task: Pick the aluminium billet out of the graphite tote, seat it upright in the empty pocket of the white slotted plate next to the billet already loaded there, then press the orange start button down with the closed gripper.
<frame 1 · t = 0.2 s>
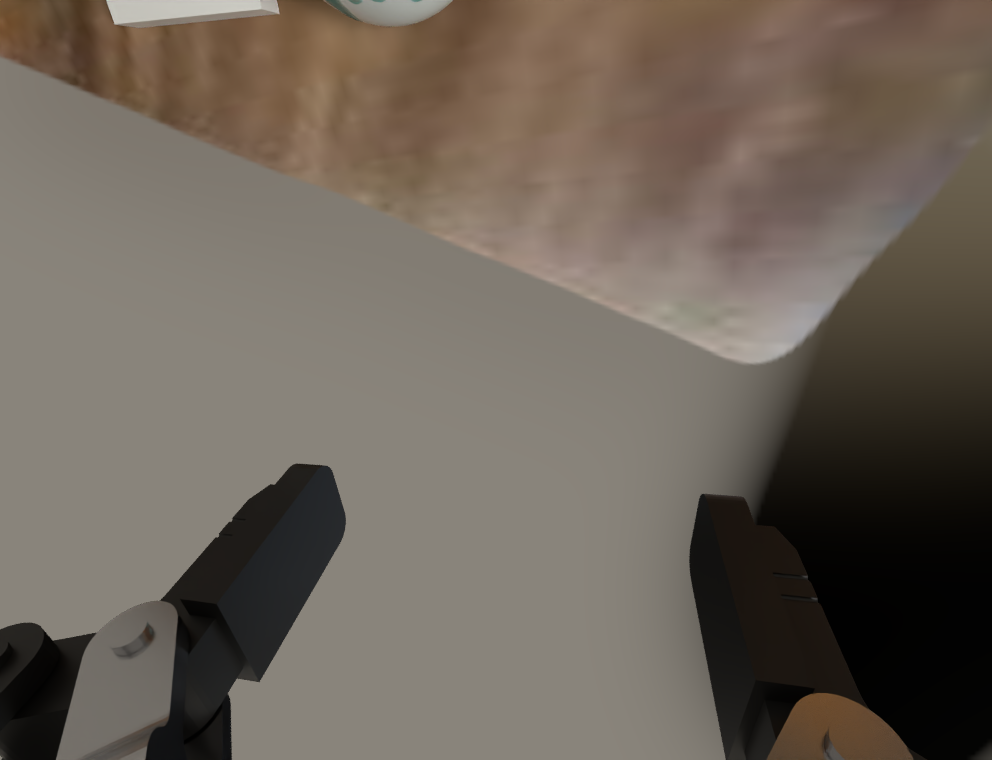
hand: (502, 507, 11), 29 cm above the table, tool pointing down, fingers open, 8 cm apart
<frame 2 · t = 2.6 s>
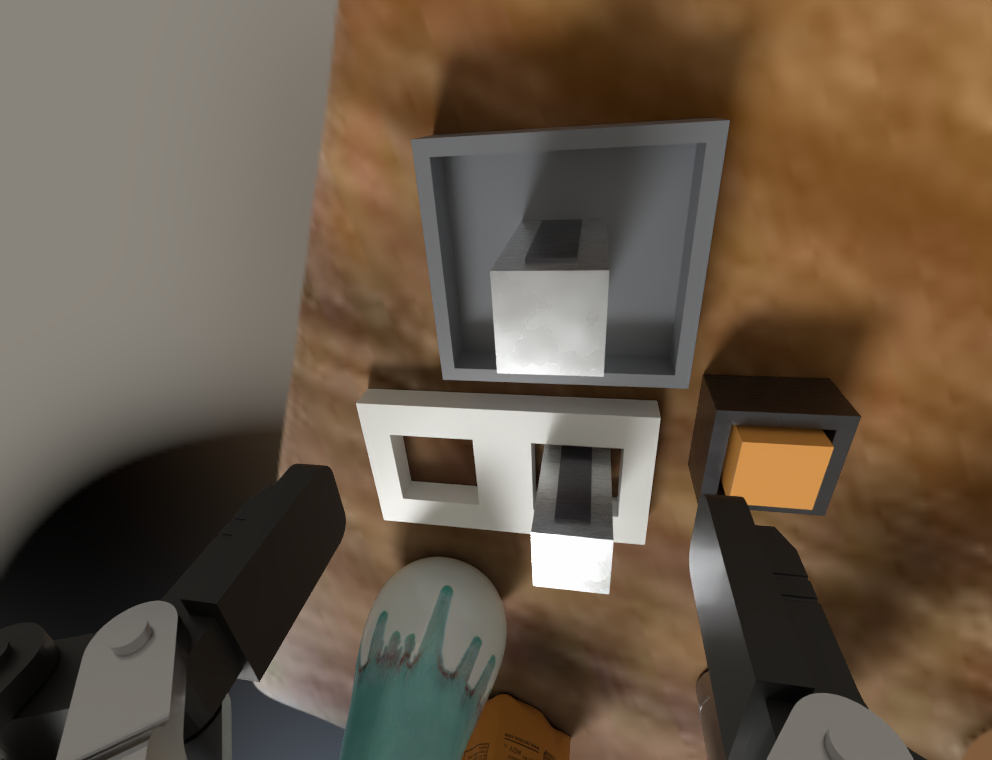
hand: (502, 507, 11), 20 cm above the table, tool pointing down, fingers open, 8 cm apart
start button: (771, 462, 28), point 4 cm above the table, slide at 0.0 cm
coffee package: (516, 721, 55), on the table
billet: (563, 260, 27), point 1 cm above the table, touching tote
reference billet: (576, 462, 35), resting in white slotted plate
white slotted plate: (508, 457, 36), on the table
vase: (452, 581, 44), on the table
button housing: (753, 424, 31), on the table
tote: (564, 254, 28), on the table
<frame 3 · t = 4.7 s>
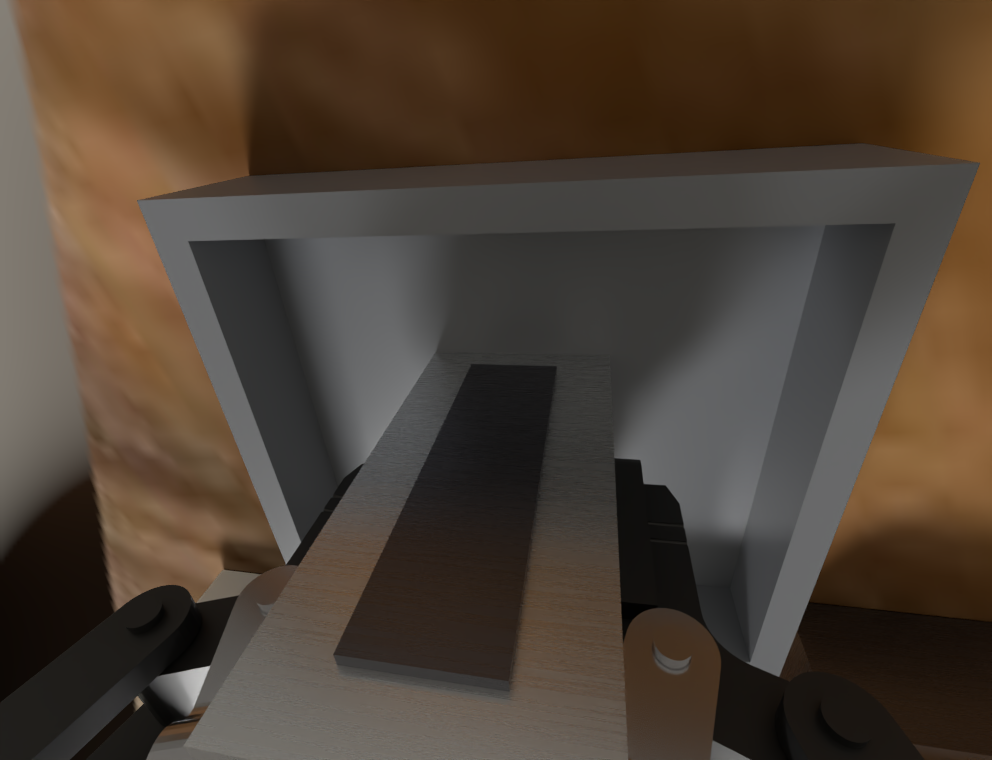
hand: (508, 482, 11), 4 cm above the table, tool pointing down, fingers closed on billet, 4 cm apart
billet: (523, 425, 13), point 1 cm above the table, touching gripper, tote
white slotted plate: (452, 673, 22), on the table
button housing: (870, 674, 17), on the table
tote: (528, 402, 14), on the table
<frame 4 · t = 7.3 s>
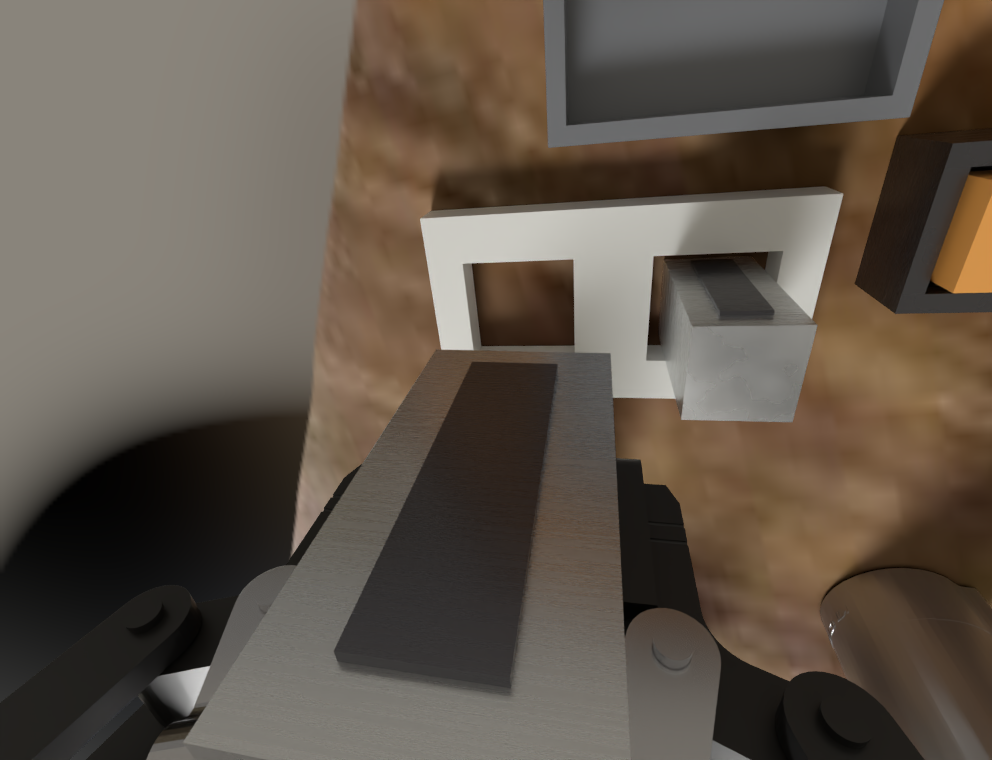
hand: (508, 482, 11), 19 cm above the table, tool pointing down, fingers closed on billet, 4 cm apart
billet: (523, 423, 13), point 17 cm above the table, touching gripper
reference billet: (701, 296, 27), resting in white slotted plate
white slotted plate: (610, 298, 28), on the table
button housing: (958, 211, 23), on the table
when the fingers open (3 cm above the table, at t = 10.2 s): billet stays where it is, resting in white slotted plate.
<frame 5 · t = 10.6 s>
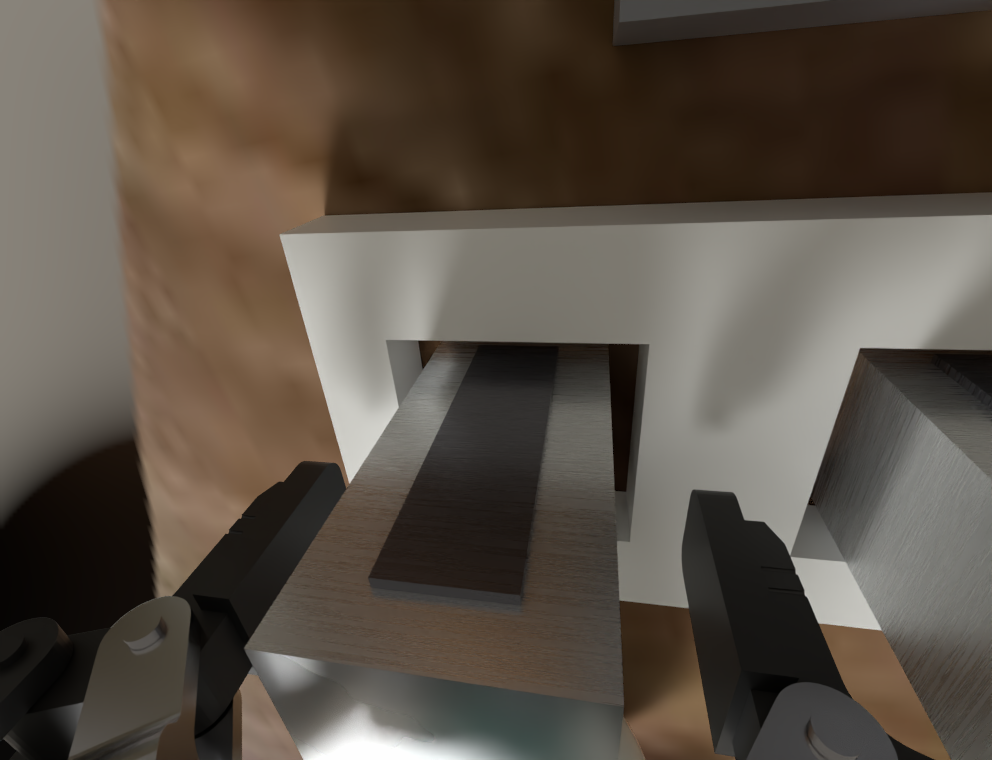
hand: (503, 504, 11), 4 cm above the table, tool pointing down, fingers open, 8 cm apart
billet: (526, 405, 14), resting in white slotted plate
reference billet: (920, 421, 12), resting in white slotted plate
white slotted plate: (709, 413, 13), on the table
vase: (516, 682, 22), on the table
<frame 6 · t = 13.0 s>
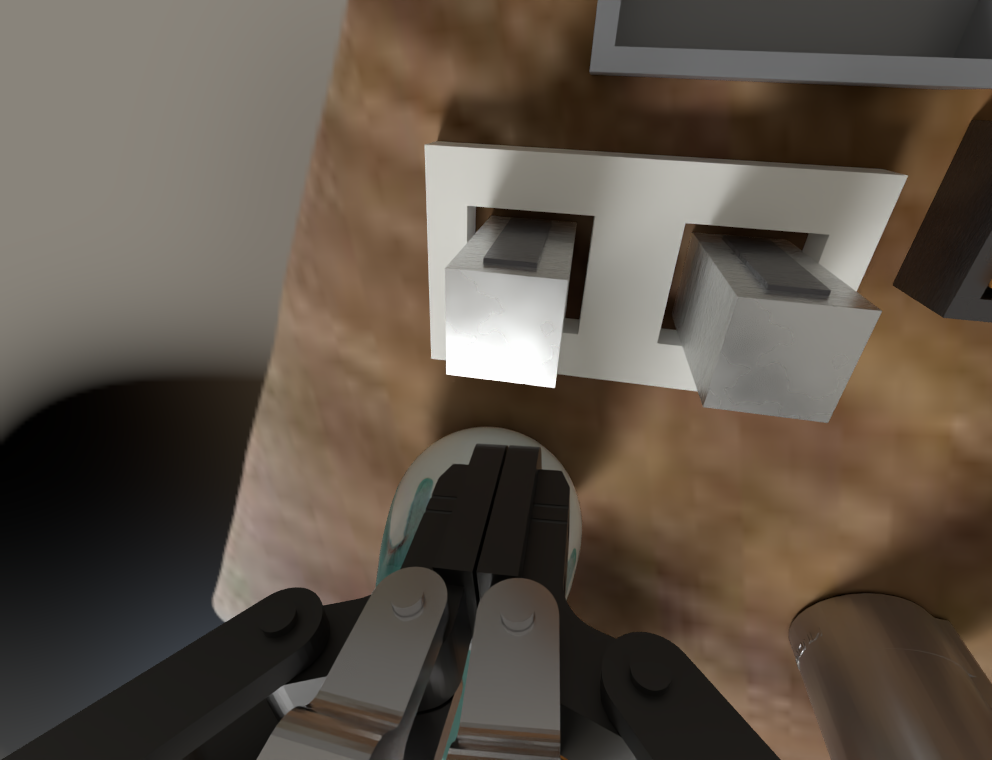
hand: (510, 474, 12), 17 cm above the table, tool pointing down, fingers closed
billet: (530, 261, 26), resting in white slotted plate
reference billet: (726, 279, 25), resting in white slotted plate
white slotted plate: (625, 270, 25), on the table
vase: (499, 470, 34), on the table
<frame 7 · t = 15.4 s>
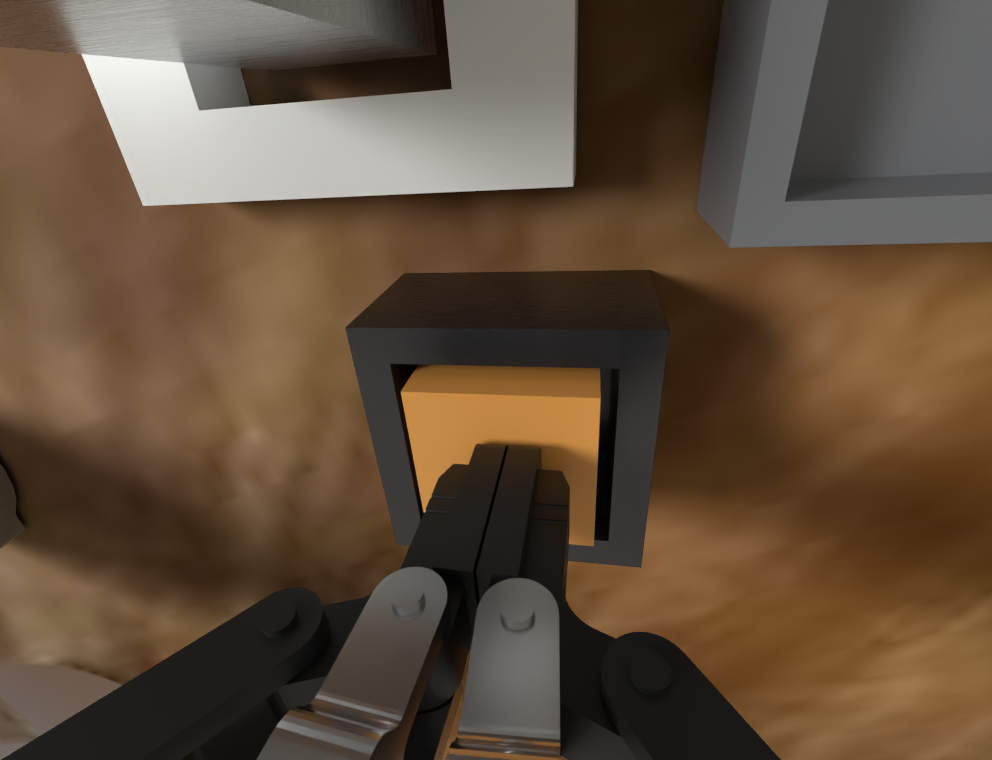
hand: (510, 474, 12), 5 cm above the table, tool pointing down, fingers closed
start button: (510, 443, 13), point 3 cm above the table, slide at 0.4 cm, touching gripper
button housing: (525, 379, 15), on the table
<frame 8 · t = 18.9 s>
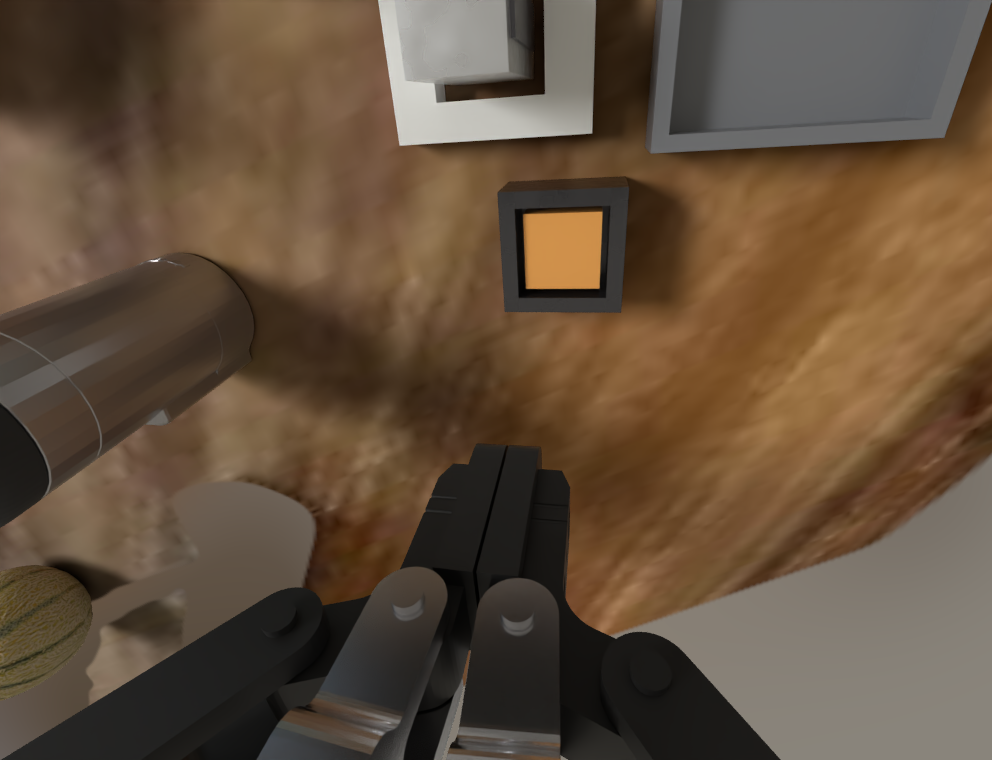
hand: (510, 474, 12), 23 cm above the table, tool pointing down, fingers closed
start button: (563, 246, 29), point 2 cm above the table, slide at 1.5 cm
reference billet: (492, 35, 26), resting in white slotted plate
button housing: (565, 237, 31), on the table
cantaloupe: (70, 578, 65), on the table
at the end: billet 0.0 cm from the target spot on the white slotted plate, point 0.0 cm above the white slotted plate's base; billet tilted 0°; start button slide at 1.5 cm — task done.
